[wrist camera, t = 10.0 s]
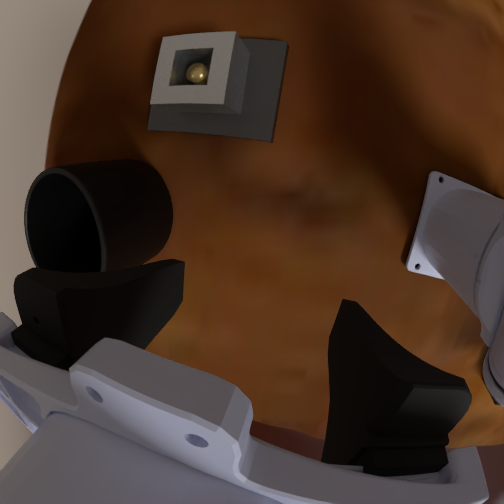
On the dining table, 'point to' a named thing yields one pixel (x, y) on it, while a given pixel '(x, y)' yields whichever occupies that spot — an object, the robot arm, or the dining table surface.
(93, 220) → the mug
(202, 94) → the gray square hollow block
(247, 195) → the dining table surface
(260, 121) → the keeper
